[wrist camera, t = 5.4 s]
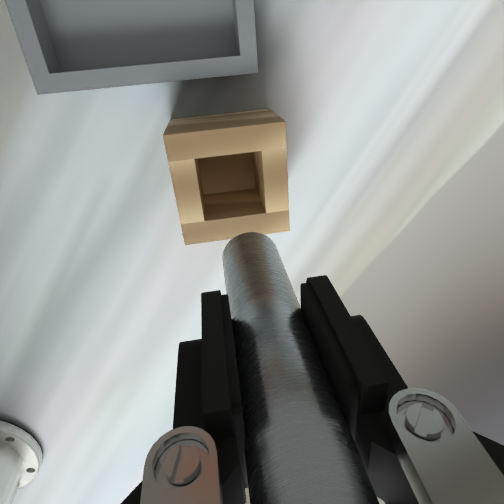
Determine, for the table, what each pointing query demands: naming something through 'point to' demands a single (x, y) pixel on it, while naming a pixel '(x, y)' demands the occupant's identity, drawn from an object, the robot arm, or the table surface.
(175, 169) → the oak block
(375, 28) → the table surface
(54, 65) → the tray
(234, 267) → the cylinder
